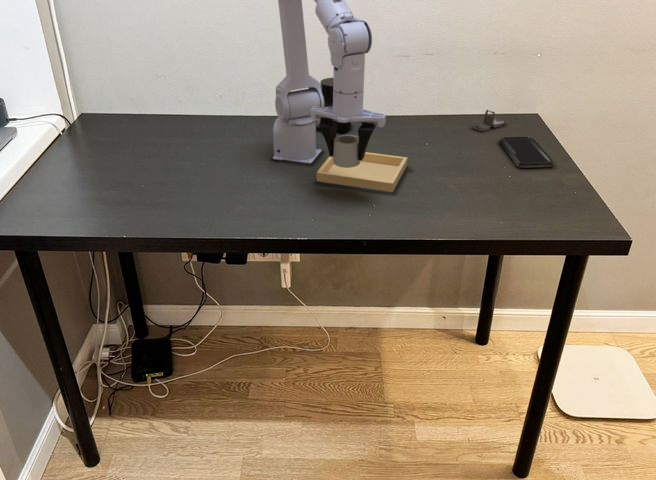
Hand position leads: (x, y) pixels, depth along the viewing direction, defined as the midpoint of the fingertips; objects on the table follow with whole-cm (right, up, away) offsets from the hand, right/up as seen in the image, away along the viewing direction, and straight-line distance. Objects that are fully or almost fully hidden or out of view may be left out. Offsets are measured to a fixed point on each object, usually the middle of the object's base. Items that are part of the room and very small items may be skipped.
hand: (346, 156), depth 129 cm
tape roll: (0, -1, +1) cm, 1 cm away
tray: (+4, -2, +13) cm, 14 cm away
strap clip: (+39, +14, +35) cm, 54 cm away
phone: (+43, +4, +20) cm, 47 cm away
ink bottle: (-1, +13, +36) cm, 39 cm away
